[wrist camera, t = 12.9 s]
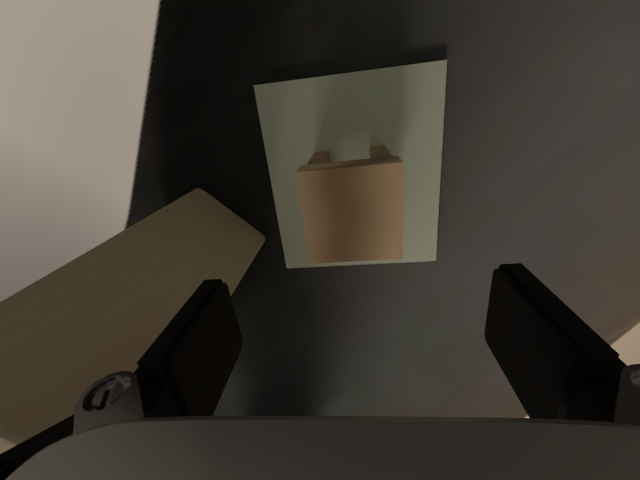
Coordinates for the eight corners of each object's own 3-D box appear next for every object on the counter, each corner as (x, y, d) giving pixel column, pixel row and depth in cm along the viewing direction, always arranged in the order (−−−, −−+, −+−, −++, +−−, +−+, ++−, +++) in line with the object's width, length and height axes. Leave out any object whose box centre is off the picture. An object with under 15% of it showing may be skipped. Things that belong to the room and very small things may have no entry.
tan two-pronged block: (387, 142, 24) (403, 162, 17) (388, 214, 26) (403, 258, 19) (311, 149, 24) (295, 172, 17) (319, 219, 27) (309, 263, 20)
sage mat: (433, 255, 29) (435, 260, 28) (288, 263, 30) (286, 268, 30) (443, 61, 22) (447, 59, 21) (257, 85, 24) (253, 85, 23)
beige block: (162, 239, 31) (-142, 470, 12) (197, 184, 28) (-131, 373, 9) (228, 284, 32) (57, 550, 13) (267, 236, 29) (119, 490, 10)
